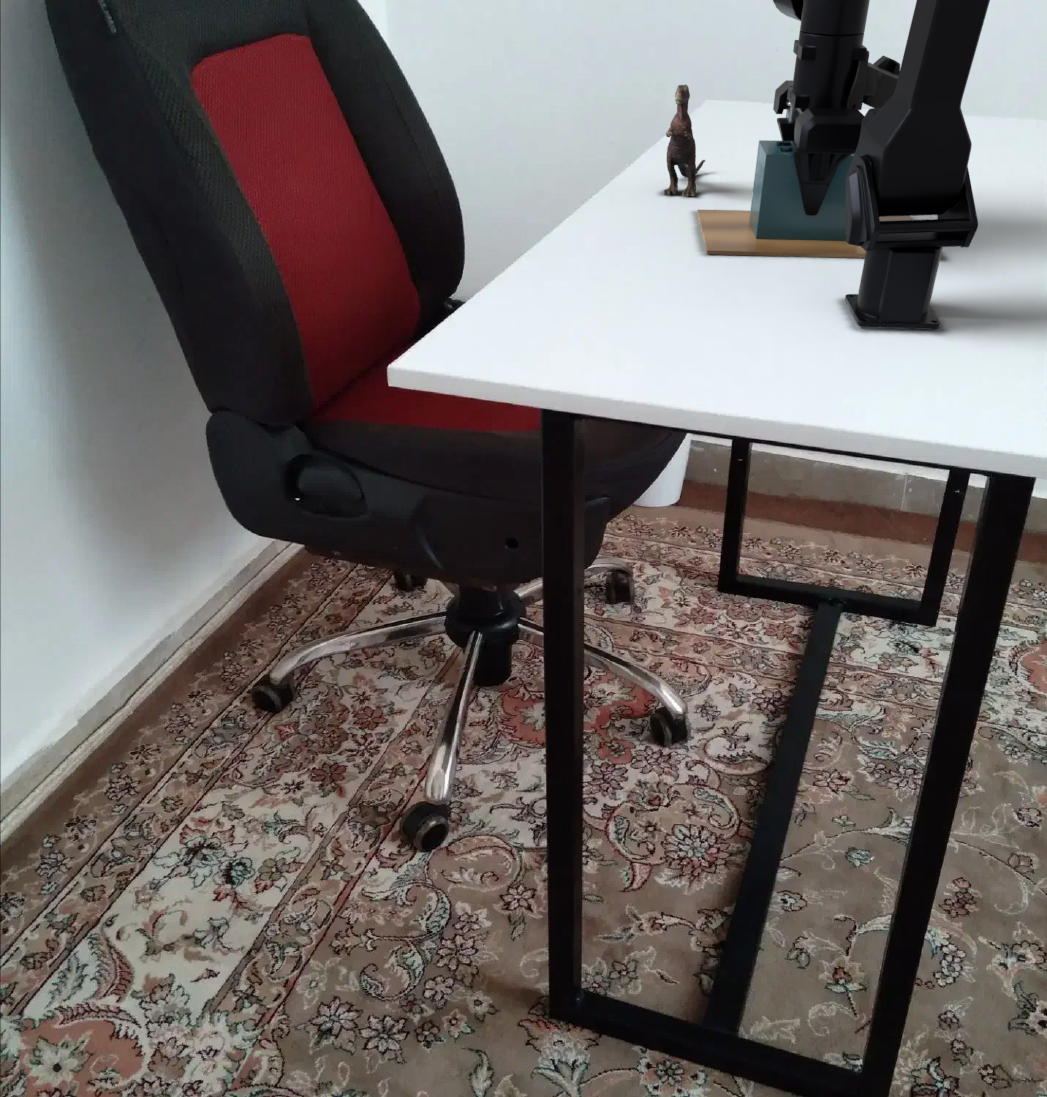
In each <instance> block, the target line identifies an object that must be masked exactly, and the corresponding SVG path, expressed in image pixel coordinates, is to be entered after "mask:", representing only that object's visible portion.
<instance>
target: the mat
mask: <svg viewBox="0 0 1047 1097" xmlns="http://www.w3.org/2000/svg"><path fill="white" fill-rule="evenodd" d="M750 211H751V210H739V209H730V210H729V209H728V210H727V209H697V210H696V214H697V219H698V223H699V227H700V230H701V235H702V239H703V245H704V249H705V252H706V255H714V256H715V255H717V256H721V255H722V256H755V257H757V256H759V257H761V256H762V257H801V258H802V257H805V258H846V259H847V258H848V259H850V258H853V259H865V255H866V251H865V250H864V249H863V248H862V247H860V246H856V245H851V244H848V243H847V242H846V241H832V240H786V239H756V238H755V235H754V232H753V230H752V227H751V224H750V221H749V219H750ZM879 219H880V221H902V220H913V219H912V218H911V216H893V217H879ZM942 257H943V256H942V254H941V257H940V261H941V260H942Z"/></svg>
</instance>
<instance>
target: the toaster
mask: <svg viewBox="0 0 1047 1097" xmlns="http://www.w3.org/2000/svg"><path fill="white" fill-rule="evenodd" d="M853 156H854V154H852V155H850V156H849V157H848V158H846V159H845V160H843V161H842V162H841V163H840V164H839V166H838V168H837V170H836V172H835V174H834V176H833V179H832V181H831V183H830V186H829V188H828V190H827V193H826V195H825V197H824V200H823V202H822V205H821V207H820V209H819V212H818V214H817V215H815V216H808V215H806V214H805V211H804V206H803V201H802V196H801V191H800V186H799V181H798V176H797V171H796V166H795V162H794V157H793V152H792V147H791V141H782V140H766V139H765V140H760V139H759V140H758V146H757V154H756V161H755V171H754V177H753V187H752V195H751V204H750V210H749V211H750V219H749V221H750V224H751V227H752V230H753V232H754V235H755V238H756V239H786V240H832V241H846V237H847V235H846V234H845V199H846V175H847V173H848V171H849V167H850V165H851V162H852V161H853Z"/></svg>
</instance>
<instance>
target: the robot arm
mask: <svg viewBox="0 0 1047 1097" xmlns="http://www.w3.org/2000/svg"><path fill="white" fill-rule="evenodd" d="M870 1H871V0H772V2H773V4H774V6H775V8H776V9H777V10H778V11H779V12H780V13H781V14H783V15H785V16H786V17H789V18H792V19H794V20H797V21H799V22H800V26H799V34H798V39H794V42H793V49H792V50H793V51H792V52H793V54H795V64H794V71H793V79H792V80H789V79H788V80H787V79H786V80H785V81H784V82H782V83H781V84H780V85H779V86H778V87H777V88H776V89H775V92H774V98H773V107H772V110H773V111H774V113H775V115H783V114H784V111H785V110H786V111H785V112H786V113H785V117H777V118H776V122H777V126H778V131H779V134H780V138H781V141H791V147H792V152H793V157H794V162H795V166H796V171H797V176H798V181H799V186H800V191H801V196H802V201H803V206H804V211H805V214H806V215H808V216H815V215H817V214H818V212H819V209H820V207H821V205H822V202H823V200H824V197H825V195H826V193H827V190H828V188H829V186H830V183H831V181H832V179H833V176H834V174H835V172H836V170H837V168H838V166H839V164H840V163H841V162H842V161H843V160H845V159H846V158H848V157H849V156H850V155H852V154H854V156H853V161H852V162H851V165H850V167H849V171H848V173H847V175H846V199H845V234H846V235H847V237H846V242H847V243H848V244H851V245H856V246H860V247H862V248H863V249H864V250H865V251H866V255H865V258H864V261H863V265H862V266H863V267H862V271H861V277H860V282H859V288H858V291H857V293H855V294H854V293H847V294H845V296H844V302H845V304H846V306H847V307H848V309H849V311H850V314H851V315H852V317H853V319H854V321H855V323H856V325H857V326H858V327H860V328H885V329H888V328H889V329H890V328H891V329H920V330H921V329H923V330H925V329H926V330H938V329H940V327H941V323H942V322H941V320H940V319H939V318H938V316H937V315H936V313H935V311H934V310H933V309H932V308H931V302H932V297H933V293H934V288H935V284H936V278H937V275H938V271H939V265H940V261H941V260H940V257H941V255H942V253H943V248H955V247H960V248H969V247H970V245H971V243H972V241H973V239H974V237H975V234H976V232H977V230H978V228H979V221H978V216H977V210H976V203H975V199H974V193H973V187H972V182H971V177H970V172H969V162H970V161H969V160H970V156H971V152H972V140H971V137H970V133H969V130H968V127H967V124H966V121H965V117H964V115H963V110H962V108H961V107H962V101H963V97H964V94H965V91H966V87H967V84H968V81H969V80H968V79H969V76H970V73H971V70H972V66H973V62H974V58H975V55H976V52H977V48H978V45H979V41H980V37H981V34H982V30H983V26H984V24H985V19H986V16H987V12H988V9H989V5H990V2H991V0H916V2H915V6H914V10H913V14H912V18H911V22H910V26H909V31H908V35H907V39H906V43H905V48H904V52H903V55H902V60H901V63H899V61H897V60H895V59H892V58H891V57H889V56H886V55H882V56H880V57H879V58H878V59H877V60H876V61H874V63H871V62H869V59H870V51H869V50H868V48H867V47H866V46H865V45H864V44H863V43H864V37H865V32H866V31H865V30H866V26H867V19H868V13H869V6H870ZM863 105H866V106H868V107H871V108H869V109H868V110H867V112H866V113H865V114H863V113H862V112H861V111H862V108H863ZM893 216H909V217H919V216H920V217H921V216H937V218H936V219H932V218H931V219H912V220H902V221H880V219H879V217H893ZM941 258H942V257H941Z"/></svg>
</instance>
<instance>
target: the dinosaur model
mask: <svg viewBox="0 0 1047 1097" xmlns="http://www.w3.org/2000/svg"><path fill="white" fill-rule="evenodd" d="M690 97H691V93H690V89H689V86H688V85H687V84H686V83H685V84H678V85H677V87H676V91H675V94H674V98H675V99H674V100H675V104H676V113H675V114H674V116H673V118H672V120H671V121H670V125H669V126H670V127H669V128H668V130H667V131H666V133H665V136H666V137H667V138H670V139H669V142H668V145H667V147H666V148H667V149H666V167H667V171H668V175H669V181H670V183H669V187H668V188H665V189H664V190H663V195H666V196H667V195H668V196H672V195H674V196H676V194H677V193H679V177H678V173H677V171H676V168H675V166H677V168H678V170H679V173H680V174H681V176H682V177H684V178H685V179H686V178H687V185H686V188H685V189H683V191H682V193H681V196H682V197H683V196H684V197H685V196H686V197H695V196H696V194H697V183H696V177H697V176H696V175H697V174H698V172H699V171H700V169H702V167H703V165H704V163H706V159H702V160H701V161H700V163H698V164H696V159H697V151H696V150H697V146H696V140H695V138H694V133H693V132H694V131H693V129H692V126H693V125H692V124H693V123H692V119H691V116H690V115H689V111H688V110H689V101H690Z"/></svg>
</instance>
